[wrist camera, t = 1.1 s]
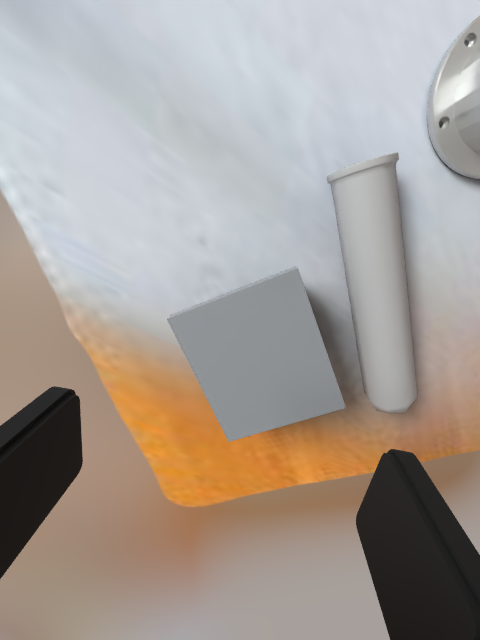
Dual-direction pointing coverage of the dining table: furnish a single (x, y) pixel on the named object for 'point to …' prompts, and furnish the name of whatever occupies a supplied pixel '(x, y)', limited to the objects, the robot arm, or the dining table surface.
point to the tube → (376, 279)
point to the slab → (259, 356)
